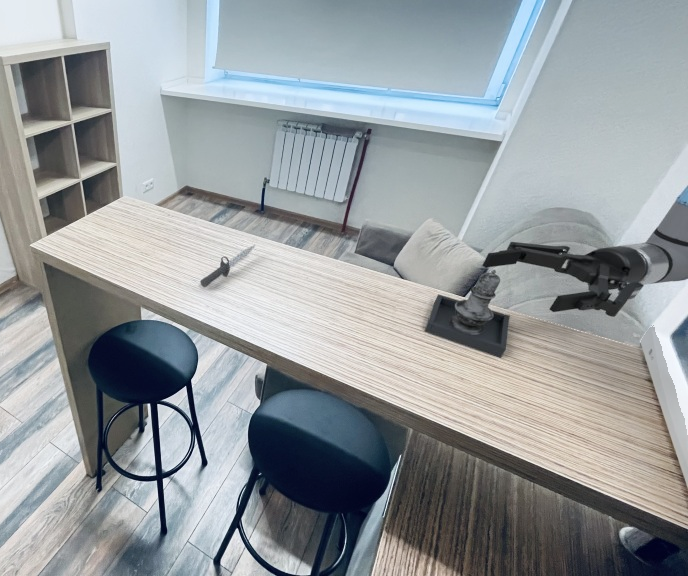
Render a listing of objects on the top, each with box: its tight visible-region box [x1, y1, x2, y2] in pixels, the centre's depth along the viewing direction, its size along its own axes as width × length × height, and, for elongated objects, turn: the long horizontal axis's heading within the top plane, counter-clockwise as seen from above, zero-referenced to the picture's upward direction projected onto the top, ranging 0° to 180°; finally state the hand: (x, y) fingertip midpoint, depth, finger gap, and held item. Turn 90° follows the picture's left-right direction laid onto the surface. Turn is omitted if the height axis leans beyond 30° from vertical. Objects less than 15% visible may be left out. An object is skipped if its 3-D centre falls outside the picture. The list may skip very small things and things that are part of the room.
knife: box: [199, 244, 256, 288], centre depth 90 cm, size 19×2×5 cm, turn 137°
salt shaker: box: [450, 269, 501, 335], centre depth 71 cm, size 6×6×12 cm
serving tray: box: [424, 294, 510, 358], centre depth 74 cm, size 12×11×2 cm
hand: (518, 280), depth 70 cm, fingers open, 13 cm apart
